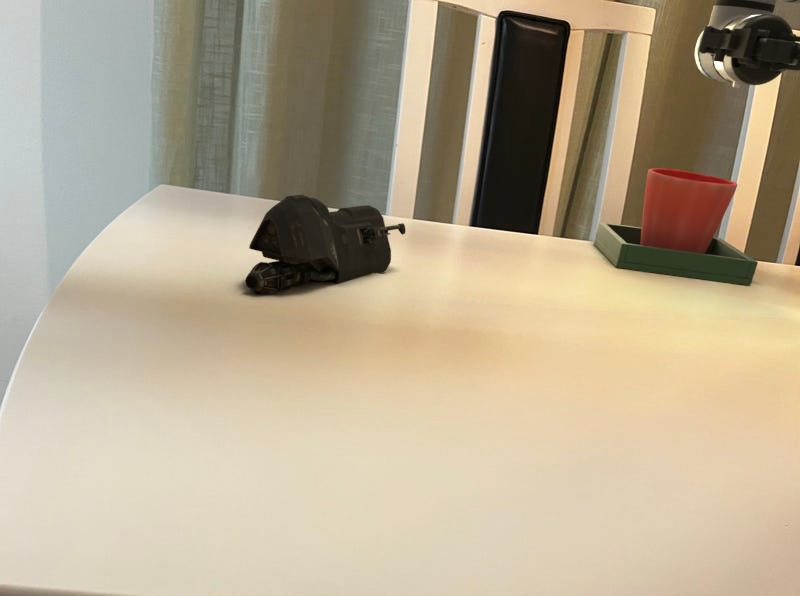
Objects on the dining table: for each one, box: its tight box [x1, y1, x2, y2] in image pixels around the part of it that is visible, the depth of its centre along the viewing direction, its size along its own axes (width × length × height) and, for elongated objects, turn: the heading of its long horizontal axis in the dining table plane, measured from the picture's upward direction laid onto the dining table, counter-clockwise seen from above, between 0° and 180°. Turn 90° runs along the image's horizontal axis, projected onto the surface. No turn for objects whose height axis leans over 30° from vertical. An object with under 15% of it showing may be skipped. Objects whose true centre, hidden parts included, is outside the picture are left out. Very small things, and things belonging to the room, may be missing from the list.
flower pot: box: [640, 167, 738, 254], centre depth 127 cm, size 11×11×10 cm
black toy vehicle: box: [245, 194, 406, 295], centre depth 95 cm, size 7×25×8 cm, turn 152°
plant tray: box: [593, 221, 759, 287], centre depth 129 cm, size 17×17×3 cm
